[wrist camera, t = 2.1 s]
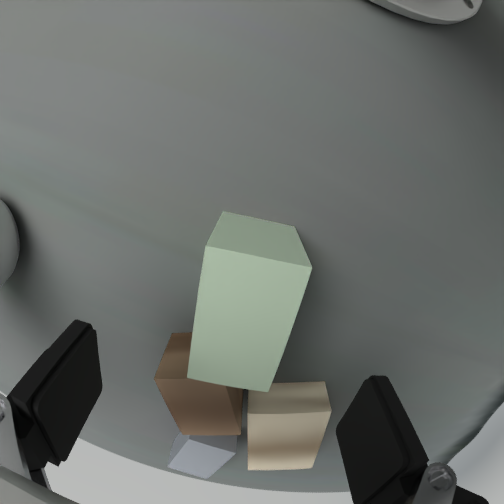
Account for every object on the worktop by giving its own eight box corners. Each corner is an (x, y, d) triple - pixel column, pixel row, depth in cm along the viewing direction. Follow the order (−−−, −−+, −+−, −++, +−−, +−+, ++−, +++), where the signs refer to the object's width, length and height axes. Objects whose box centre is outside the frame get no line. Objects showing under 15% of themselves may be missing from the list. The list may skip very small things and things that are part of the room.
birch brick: (248, 379, 18) (247, 413, 15) (323, 378, 18) (331, 411, 15) (249, 441, 21) (248, 469, 18) (308, 440, 21) (311, 468, 18)
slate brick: (195, 407, 19) (188, 438, 16) (238, 422, 20) (236, 453, 17) (173, 440, 21) (167, 466, 18) (210, 452, 22) (206, 478, 19)
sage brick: (223, 210, 14) (205, 245, 9) (294, 226, 14) (312, 267, 9) (204, 315, 16) (186, 377, 11) (266, 327, 16) (268, 392, 12)
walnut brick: (172, 332, 17) (153, 378, 13) (230, 328, 16) (223, 377, 13) (192, 389, 18) (182, 434, 15) (243, 387, 18) (240, 435, 14)
